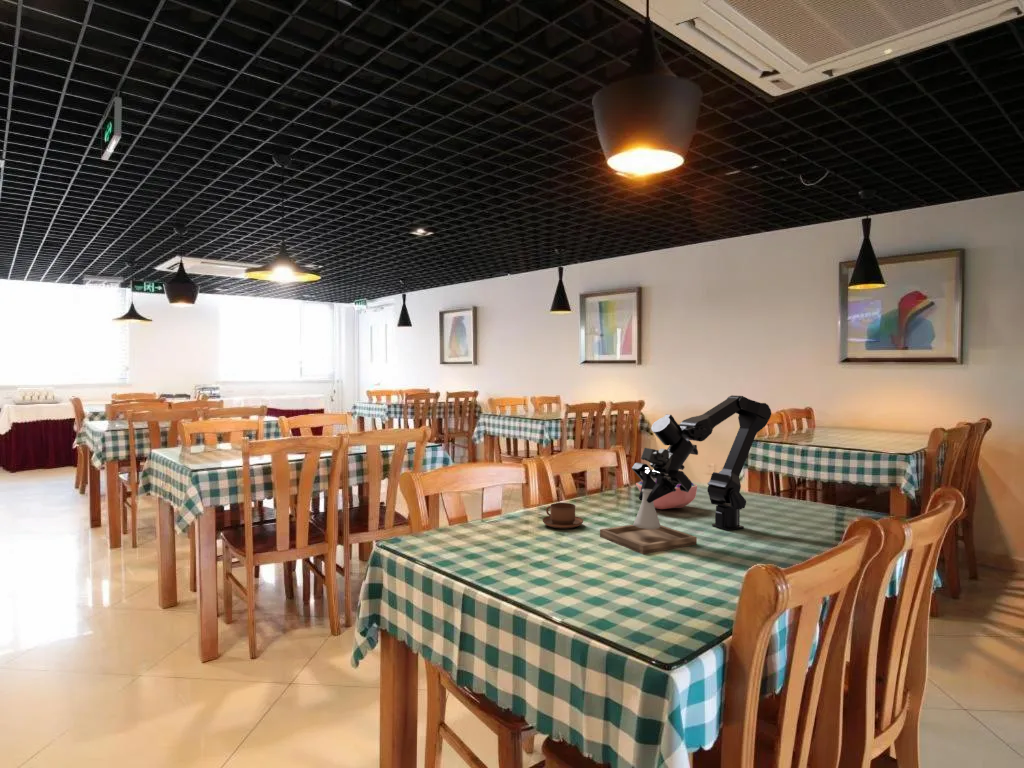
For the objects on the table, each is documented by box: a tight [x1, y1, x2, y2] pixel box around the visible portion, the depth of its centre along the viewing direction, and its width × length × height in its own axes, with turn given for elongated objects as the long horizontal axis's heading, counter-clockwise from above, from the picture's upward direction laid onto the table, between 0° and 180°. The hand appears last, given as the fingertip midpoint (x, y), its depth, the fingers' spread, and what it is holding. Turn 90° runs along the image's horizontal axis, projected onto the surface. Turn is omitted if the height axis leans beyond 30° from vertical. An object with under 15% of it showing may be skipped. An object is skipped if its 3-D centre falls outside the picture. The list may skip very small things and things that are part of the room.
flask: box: [632, 489, 662, 529], centre depth 162 cm, size 7×7×10 cm
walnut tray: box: [599, 524, 698, 555], centre depth 162 cm, size 18×18×2 cm
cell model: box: [635, 479, 698, 510], centre depth 200 cm, size 17×20×11 cm
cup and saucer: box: [542, 502, 584, 530], centre depth 178 cm, size 12×12×6 cm
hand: (643, 500), depth 162 cm, fingers closed on flask, 3 cm apart
